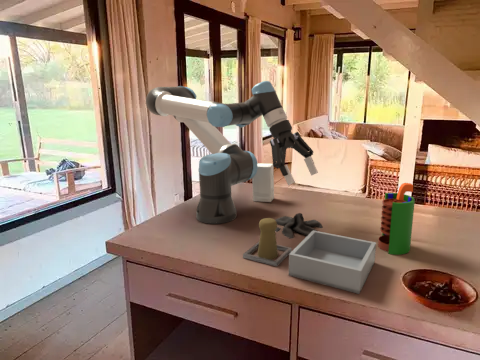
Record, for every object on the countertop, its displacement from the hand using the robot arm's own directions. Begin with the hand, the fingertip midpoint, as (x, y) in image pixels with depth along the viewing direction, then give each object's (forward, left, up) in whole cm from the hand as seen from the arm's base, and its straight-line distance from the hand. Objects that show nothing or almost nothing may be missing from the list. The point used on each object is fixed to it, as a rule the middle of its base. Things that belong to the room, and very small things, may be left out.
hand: (303, 179), depth 126 cm
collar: (0, -28, -16) cm, 33 cm away
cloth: (0, -6, -17) cm, 18 cm away
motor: (+31, -5, -17) cm, 36 cm away
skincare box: (-25, +18, -17) cm, 35 cm away
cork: (0, -28, -17) cm, 33 cm away
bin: (+19, -27, -16) cm, 37 cm away
